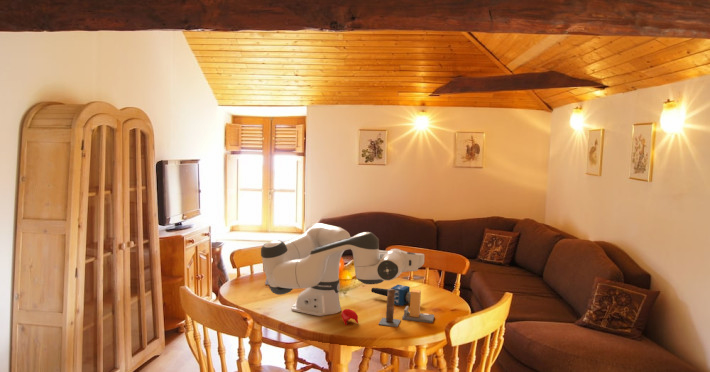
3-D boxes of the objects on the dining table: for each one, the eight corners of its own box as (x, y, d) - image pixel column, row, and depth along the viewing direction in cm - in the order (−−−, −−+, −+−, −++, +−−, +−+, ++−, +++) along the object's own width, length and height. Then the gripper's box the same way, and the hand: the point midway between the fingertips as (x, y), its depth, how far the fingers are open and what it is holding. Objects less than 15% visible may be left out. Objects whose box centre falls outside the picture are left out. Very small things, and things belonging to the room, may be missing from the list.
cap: (339, 318, 208) (351, 312, 207) (338, 309, 214) (350, 303, 213) (349, 331, 211) (361, 325, 210) (348, 322, 217) (360, 315, 216)
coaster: (378, 324, 211) (378, 323, 211) (382, 318, 219) (382, 317, 219) (397, 327, 209) (397, 325, 209) (400, 320, 217) (400, 319, 217)
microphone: (376, 280, 252) (422, 288, 240) (375, 295, 253) (421, 304, 241) (368, 283, 246) (416, 292, 233) (368, 299, 246) (415, 309, 234)
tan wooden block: (409, 316, 220) (410, 291, 219) (410, 313, 224) (411, 289, 223) (418, 317, 219) (419, 292, 218) (419, 314, 223) (420, 290, 222)
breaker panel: (402, 319, 219) (402, 310, 218) (405, 313, 226) (405, 305, 226) (432, 323, 216) (432, 313, 215) (434, 317, 223) (434, 308, 223)
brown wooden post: (385, 322, 213) (387, 290, 211) (386, 319, 216) (388, 288, 214) (392, 323, 212) (394, 291, 211) (393, 320, 215) (395, 289, 214)
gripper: (368, 266, 192) (375, 259, 205) (421, 271, 187) (425, 263, 200) (368, 250, 191) (376, 243, 205) (422, 254, 186) (426, 247, 200)
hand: (401, 253), depth 202 cm, fingers open, 8 cm apart
